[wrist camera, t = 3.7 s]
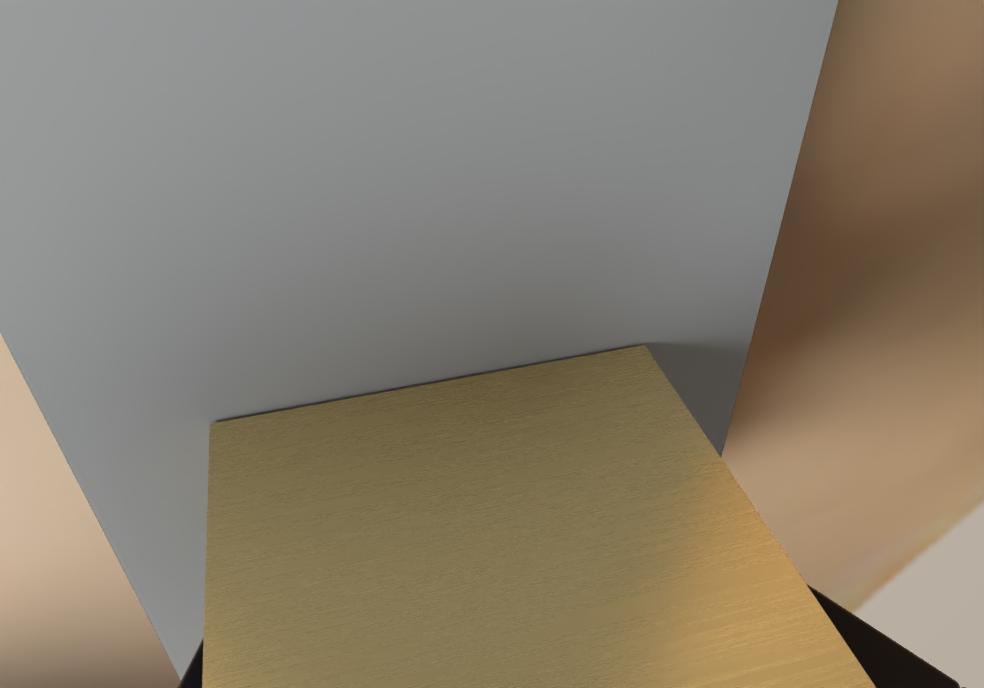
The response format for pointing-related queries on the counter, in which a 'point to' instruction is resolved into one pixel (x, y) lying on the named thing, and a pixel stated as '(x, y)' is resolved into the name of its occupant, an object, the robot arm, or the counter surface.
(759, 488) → the counter surface
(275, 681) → the golden cube
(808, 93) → the beam
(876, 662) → the robot arm
